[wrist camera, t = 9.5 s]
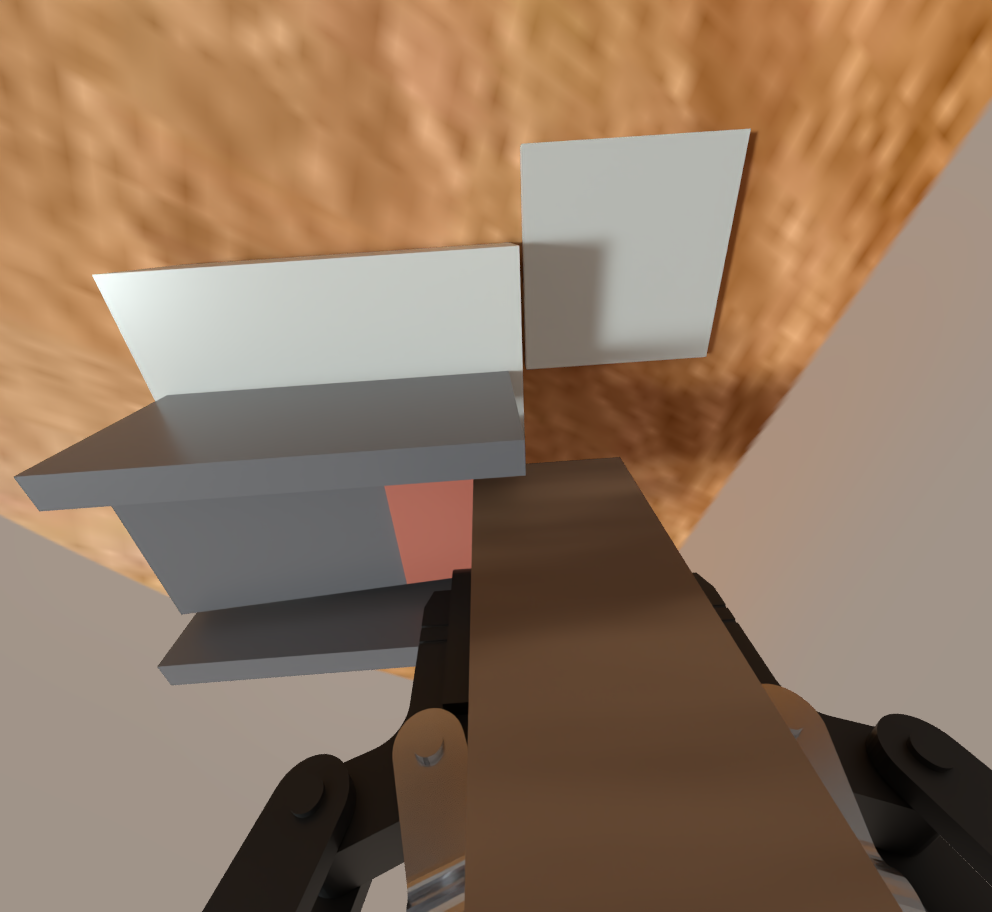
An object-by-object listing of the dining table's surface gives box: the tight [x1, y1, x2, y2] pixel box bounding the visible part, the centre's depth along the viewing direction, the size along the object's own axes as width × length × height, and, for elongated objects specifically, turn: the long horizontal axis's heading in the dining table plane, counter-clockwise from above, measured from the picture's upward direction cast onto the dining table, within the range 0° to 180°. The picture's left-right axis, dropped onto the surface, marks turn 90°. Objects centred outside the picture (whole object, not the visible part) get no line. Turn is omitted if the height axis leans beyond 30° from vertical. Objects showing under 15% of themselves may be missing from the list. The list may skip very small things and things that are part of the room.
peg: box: [464, 457, 903, 912], centre depth 8 cm, size 4×4×12 cm
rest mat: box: [520, 129, 751, 369], centre depth 16 cm, size 8×8×1 cm
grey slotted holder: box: [14, 242, 526, 685], centre depth 16 cm, size 16×13×9 cm
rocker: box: [112, 479, 473, 614], centre depth 14 cm, size 5×12×1 cm, turn 93°
